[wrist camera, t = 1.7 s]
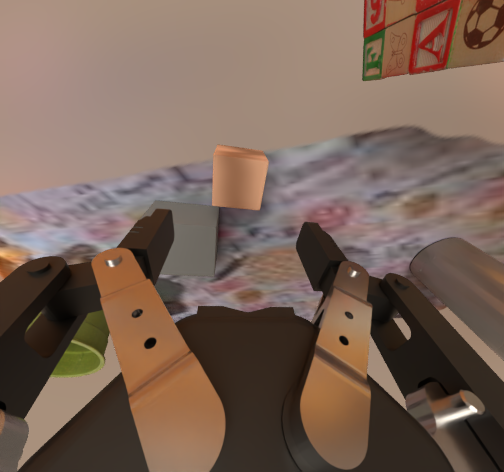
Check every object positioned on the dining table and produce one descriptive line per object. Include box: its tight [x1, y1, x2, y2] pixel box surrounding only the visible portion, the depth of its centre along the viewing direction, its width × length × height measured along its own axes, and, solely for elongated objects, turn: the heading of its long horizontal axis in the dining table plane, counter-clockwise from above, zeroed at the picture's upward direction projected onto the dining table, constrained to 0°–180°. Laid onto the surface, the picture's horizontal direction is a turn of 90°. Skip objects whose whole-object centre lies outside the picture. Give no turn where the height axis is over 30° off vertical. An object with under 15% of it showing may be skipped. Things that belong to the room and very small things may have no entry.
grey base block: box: [141, 201, 219, 277], centre depth 24 cm, size 8×8×5 cm
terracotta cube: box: [212, 144, 269, 210], centre depth 20 cm, size 5×5×5 cm
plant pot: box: [25, 310, 110, 377], centre depth 27 cm, size 12×12×11 cm
